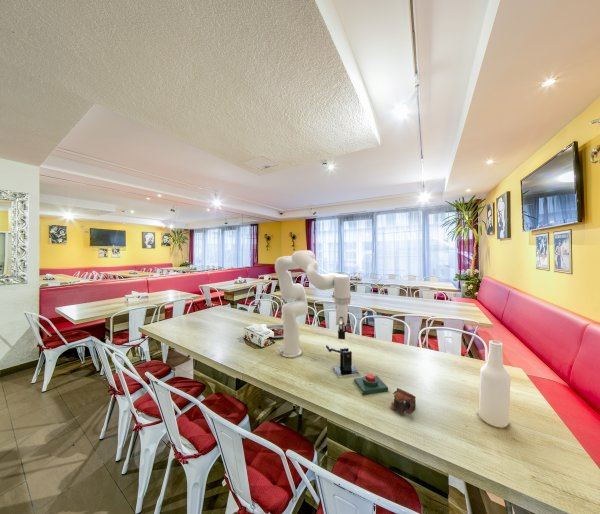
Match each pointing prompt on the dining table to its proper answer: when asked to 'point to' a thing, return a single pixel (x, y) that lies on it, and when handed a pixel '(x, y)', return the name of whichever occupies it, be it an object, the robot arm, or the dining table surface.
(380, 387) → the button block
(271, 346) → the dining table surface
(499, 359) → the alcohol
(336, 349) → the switch lever
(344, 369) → the switch bracket
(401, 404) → the miniature brown house
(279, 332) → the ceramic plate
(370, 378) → the red push button
